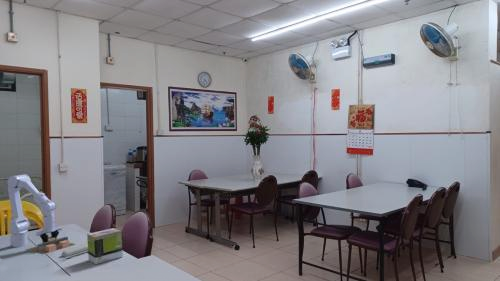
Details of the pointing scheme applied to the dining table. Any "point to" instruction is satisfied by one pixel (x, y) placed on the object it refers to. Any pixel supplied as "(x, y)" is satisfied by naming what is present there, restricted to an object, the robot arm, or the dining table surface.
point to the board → (35, 249)
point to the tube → (75, 251)
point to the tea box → (104, 245)
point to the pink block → (50, 248)
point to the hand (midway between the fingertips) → (49, 244)
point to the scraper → (50, 241)
